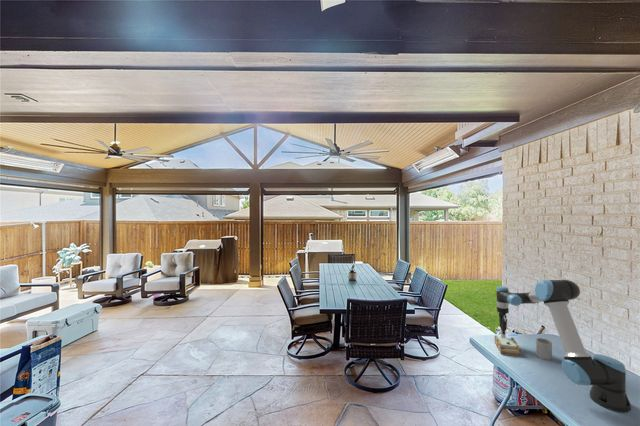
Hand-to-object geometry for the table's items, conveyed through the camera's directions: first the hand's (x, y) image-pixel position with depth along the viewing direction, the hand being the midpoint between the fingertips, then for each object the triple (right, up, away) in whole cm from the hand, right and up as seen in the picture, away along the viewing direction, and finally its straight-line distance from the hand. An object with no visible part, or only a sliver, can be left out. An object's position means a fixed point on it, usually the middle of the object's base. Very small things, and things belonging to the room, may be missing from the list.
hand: (503, 337), depth 211 cm
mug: (+16, -5, -18) cm, 24 cm away
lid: (-3, -1, -8) cm, 9 cm away
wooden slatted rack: (-3, -5, -9) cm, 11 cm away
